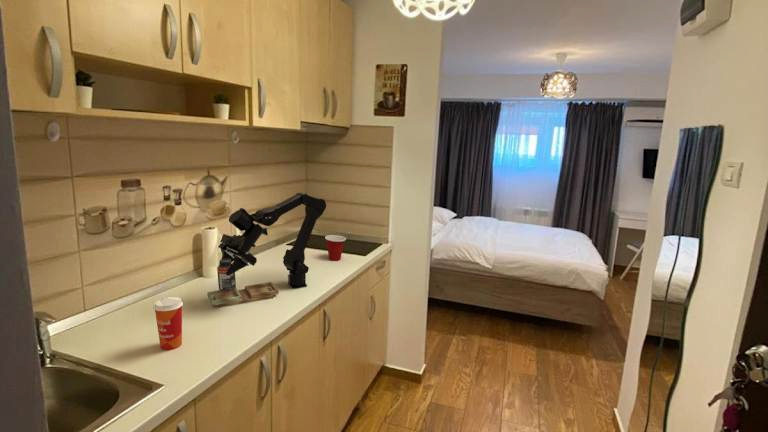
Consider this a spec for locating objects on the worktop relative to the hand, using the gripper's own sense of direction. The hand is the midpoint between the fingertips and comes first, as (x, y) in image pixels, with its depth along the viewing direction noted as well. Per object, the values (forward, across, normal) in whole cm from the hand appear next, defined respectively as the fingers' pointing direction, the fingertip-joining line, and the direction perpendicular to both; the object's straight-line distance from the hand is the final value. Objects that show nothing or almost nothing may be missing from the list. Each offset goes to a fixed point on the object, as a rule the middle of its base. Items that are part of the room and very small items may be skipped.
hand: (222, 272), depth 146 cm
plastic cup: (-38, -17, +59) cm, 72 cm away
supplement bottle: (+4, 0, +6) cm, 7 cm away
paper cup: (+26, +16, -8) cm, 32 cm away
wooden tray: (+3, -4, +16) cm, 17 cm away
